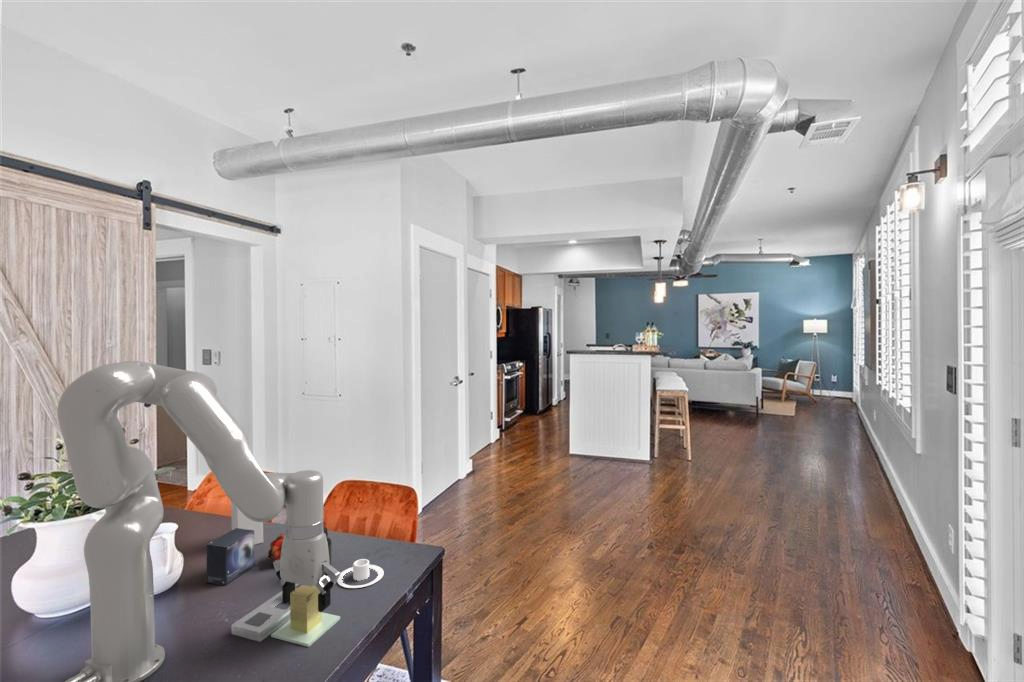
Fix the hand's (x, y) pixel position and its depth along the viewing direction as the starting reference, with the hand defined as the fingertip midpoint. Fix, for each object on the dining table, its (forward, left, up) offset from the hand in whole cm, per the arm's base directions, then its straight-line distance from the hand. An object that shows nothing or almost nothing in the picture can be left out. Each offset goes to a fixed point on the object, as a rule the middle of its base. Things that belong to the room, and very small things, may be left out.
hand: (306, 604), depth 106 cm
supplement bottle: (+20, +14, -6) cm, 25 cm away
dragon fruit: (+23, +28, -6) cm, 37 cm away
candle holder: (+22, +2, -6) cm, 23 cm away
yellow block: (0, 0, -5) cm, 5 cm away
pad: (0, 0, -5) cm, 5 cm away
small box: (+12, +36, -6) cm, 38 cm away
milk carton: (+28, +48, -6) cm, 56 cm away
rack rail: (+4, +10, -5) cm, 12 cm away
